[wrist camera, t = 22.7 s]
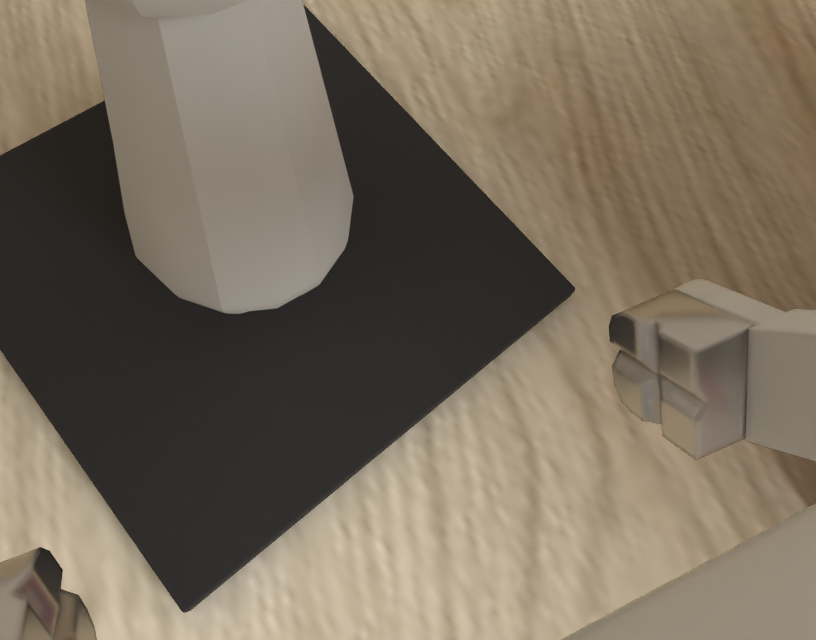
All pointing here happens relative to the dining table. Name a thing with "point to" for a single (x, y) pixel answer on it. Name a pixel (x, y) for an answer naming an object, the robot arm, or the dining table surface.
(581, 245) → the dining table surface
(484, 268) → the black square mat
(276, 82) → the salt shaker
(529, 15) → the dining table surface
